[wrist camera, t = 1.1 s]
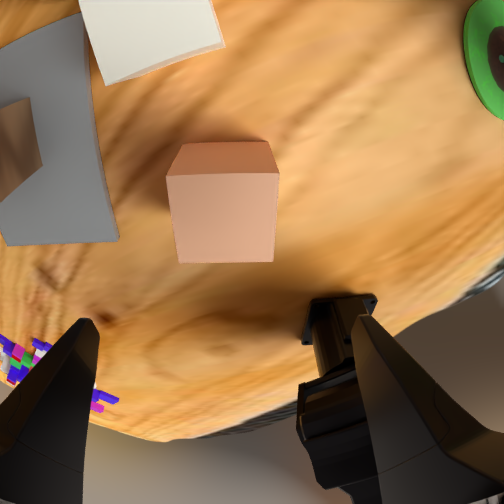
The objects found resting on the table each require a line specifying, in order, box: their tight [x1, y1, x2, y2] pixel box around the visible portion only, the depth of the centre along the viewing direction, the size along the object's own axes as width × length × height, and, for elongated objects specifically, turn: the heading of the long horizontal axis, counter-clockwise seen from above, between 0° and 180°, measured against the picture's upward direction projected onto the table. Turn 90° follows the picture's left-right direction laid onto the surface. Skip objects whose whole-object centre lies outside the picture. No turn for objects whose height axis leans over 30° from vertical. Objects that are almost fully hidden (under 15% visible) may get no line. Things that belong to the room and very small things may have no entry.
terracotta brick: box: [166, 142, 280, 263], centre depth 16 cm, size 5×5×5 cm
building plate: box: [0, 12, 120, 246], centre depth 14 cm, size 16×12×1 cm
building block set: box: [0, 334, 119, 413], centre depth 32 cm, size 25×20×4 cm
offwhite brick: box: [78, 0, 226, 86], centre depth 9 cm, size 5×5×5 cm
